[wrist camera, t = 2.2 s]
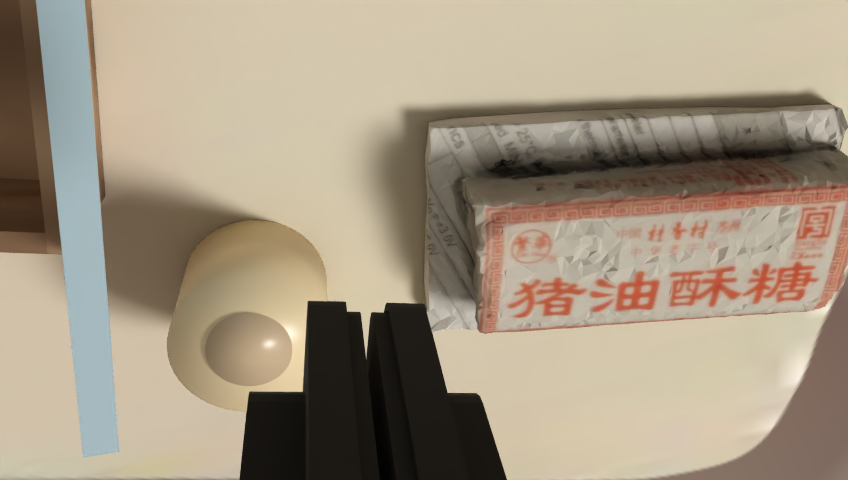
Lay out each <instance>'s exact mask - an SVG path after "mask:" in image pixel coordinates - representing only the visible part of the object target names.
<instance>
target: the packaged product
mask: <svg viewBox="0 0 848 480" xmlns="http://www.w3.org/2000/svg"><path fill="white" fill-rule="evenodd" d="M847 128H848V125H847V122H846V119H845V116H844V114H843V111H842V109H841V108H839V107H836V106H834V105H831V104H821V105H800V106H780V107H690V108H648V109H604V110H580V111H555V112H540V113H525V114H511V115H496V116H482V117H467V118H454V119H445V120H438V121H432V122H429V128H428V136H427V144H426V153H425V170H426V188H427V210H426V228H425V256H424V288H425V297H426V306H427V315H428V319H429V323H430V327H431V330H432V332H435V331H441V330H450V329H462V328H463V329H469V330H473V329H478V330H479V332H481V333H484V334H486V333H492V332H519V331H534V330H547V329H560V328H578V327H589V326H599V325H614V324H629V323H642V322H656V321H670V320H683V319H700V318H711V317H727V316H743V315H754V314H774V313H786V312H807V311H811V310H815V309H819V308H822V307H824V306H825V305H826V304H827V302H828V301H829V300H830V299H831V298H832V296H833V294H834V292H837V291H839V289H840V288H841V287H842V285H843V284H844V281H845V276H844V270H845V268H846V266H847V264H848V156H847V155H845V154H844V153H843V152H841V151H840V148H841V144H842V141H843V137H844V134H845V131H846V129H847Z"/></svg>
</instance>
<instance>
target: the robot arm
mask: <svg viewBox="0 0 848 480" xmlns="http://www.w3.org/2000/svg"><path fill="white" fill-rule="evenodd" d="M240 480H507V479H506V475H505V472H504V469H503V466H502V463H501V460H500V456H499V453H498V450H497V447H496V444H495V440H494V437H493V434H492V431H491V428H490V425H489V421H488V418H487V415H486V412H485V409H484V405H483V402H482V400H481V398H480V396H479V395H478V394H477V393H447V389H446V385H445V381H444V377H443V373H442V370H441V366H440V362H439V358H438V354H437V350H436V346H435V342H434V338H433V334H432V330H431V327H430V323H429V319H428V315H427V311H426V307H425V305H424V304H410V303H386V305H385V310H384V313H376V312H372V313H371V317H370V326H369V337H368V347H367V358H366V355H365V347H364V338H363V329H362V321H361V313H360V312H347V307H346V302H336V301H308V303H307V319H306V338H305V357H304V376H303V392H253V391H249V396H248V404H247V413H246V423H245V433H244V442H243V452H242V461H241V471H240Z"/></svg>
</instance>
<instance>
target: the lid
mask: <svg viewBox="0 0 848 480" xmlns="http://www.w3.org/2000/svg"><path fill="white" fill-rule="evenodd" d="M36 6H37V15H38V25H39V35H40V44H41V54H42V64H43V73H44V83H45V93H46V102H47V112H48V122H49V131H50V141H51V150H52V160H53V170H54V179H55V189H56V199H57V208H58V218H59V228H60V237H61V247H62V256H63V266H64V276H65V285H66V295H67V305H68V314H69V324H70V334H71V343H72V353H73V363H74V372H75V382H76V391H77V401H78V411H79V420H80V430H81V440H82V449H83V457H88V456H94V455H101V454H107V453H113V452H119V443H118V430H117V417H116V403H115V390H114V376H113V363H112V350H111V336H110V323H109V309H108V296H107V282H106V269H105V256H104V243H103V230H102V217H101V204H100V191H99V178H98V165H97V152H96V139H95V126H94V113H93V100H92V87H91V74H90V61H89V48H88V35H87V22H86V9H85V0H36Z"/></svg>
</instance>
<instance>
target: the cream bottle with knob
mask: <svg viewBox="0 0 848 480" xmlns="http://www.w3.org/2000/svg"><path fill="white" fill-rule="evenodd" d="M308 301H327V279H326V271H325V267H324V264H323V261H322V259H321V257H320V255H319V253H318V252H317V250H316V249H315V247H314V246H313V245H312V244H311V243H310V242H309V241H308V240H307V239H306V238H305V237H304V236H302V235H301V234H299V233H298V232H296V231H295V230H293V229H291V228H289V227H287V226H284V225H281V224H278V223H275V222H270V221H264V220H245V221H238V222H234V223H230V224H228V225H225V226H223V227H220V228H218V229H217V230H215V231H213V232H212V233H210V234H209V235H207V236H206V237H205V238H204V239H203V240H202V241H201V242H200V243H199V244H198V245H197V247H196V248H195V249H194V251H193V253H192V254H191V256H190V258H189V261H188V264H187V267H186V271H185V274H184V278H183V281H182V285H181V289H180V292H179V296H178V300H177V303H176V307H175V310H174V314H173V318H172V321H171V325H170V328H169V333H168V337H167V352H168V358H169V361H170V365H171V367H172V369H173V371H174V373H175V375H176V376H177V378H178V379H179V381H180V382H181V383H182V384H183V385H184V386H185V387H186V388H187V389H188V390H189V391H190V392H191V393H193V394H194V395H195V396H197V397H198V398H200V399H202V400H204V401H205V402H207V403H209V404H212V405H215V406H217V407H220V408H224V409H228V410H234V411H244V412H247V404H248V396H249V391H253V392H303V376H304V357H305V338H306V319H307V303H308Z"/></svg>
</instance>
